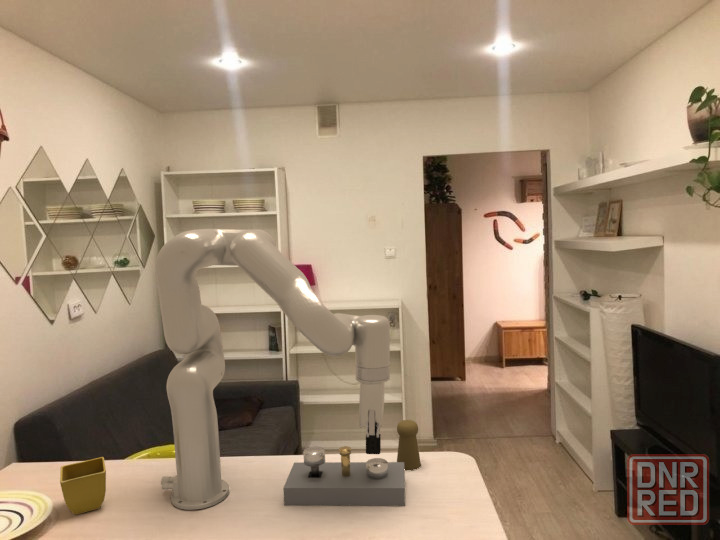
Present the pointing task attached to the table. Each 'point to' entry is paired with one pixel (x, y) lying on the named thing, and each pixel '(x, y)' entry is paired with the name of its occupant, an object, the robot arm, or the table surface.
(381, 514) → the table surface
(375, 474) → the knob
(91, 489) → the flower pot
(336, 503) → the mount
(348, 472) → the brass shaft
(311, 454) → the knob
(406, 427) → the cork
